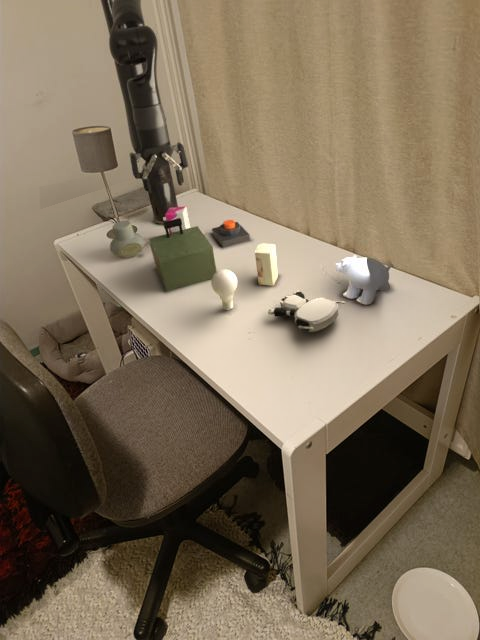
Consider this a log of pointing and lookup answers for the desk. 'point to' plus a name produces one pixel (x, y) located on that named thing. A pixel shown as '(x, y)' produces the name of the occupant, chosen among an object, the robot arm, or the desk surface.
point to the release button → (229, 224)
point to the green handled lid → (179, 242)
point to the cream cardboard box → (266, 264)
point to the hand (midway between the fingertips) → (164, 188)
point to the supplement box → (178, 213)
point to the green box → (186, 269)
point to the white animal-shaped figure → (364, 277)
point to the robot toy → (307, 311)
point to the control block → (230, 235)
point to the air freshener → (126, 240)
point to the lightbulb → (225, 286)
